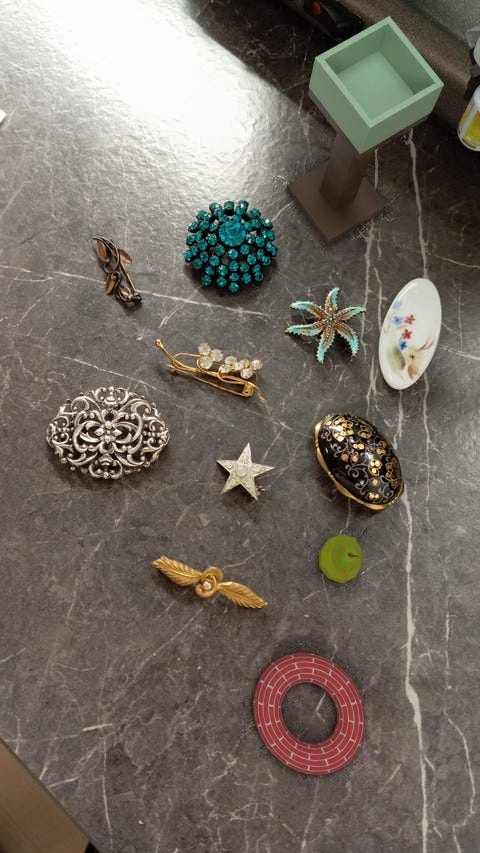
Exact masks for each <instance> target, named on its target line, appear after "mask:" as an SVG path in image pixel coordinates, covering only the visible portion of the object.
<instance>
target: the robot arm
mask: <svg viewBox="0 0 480 853" xmlns="http://www.w3.org/2000/svg"><path fill="white" fill-rule="evenodd" d="M465 38H466V40H467V45H468V48H469V50H468V55H469V59H470V63H471V67H470V68H469V69H468V70H469V71H468V72H469V75H470V78H469V80H468V82H467V84H466V90H465V92H464V94H463V96H462V98H463V100H464V101H466V102H468V101H469V102H470V100H471V98H472V96H473V94H474V92H475V90H476V88H477V87H478V86H479V85H480V26H479V25H477V26H476V25H475V26H473V27H471V28H469V29H468V30H466V31H465Z"/></svg>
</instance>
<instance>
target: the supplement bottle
mask: <svg viewBox="0 0 480 853" xmlns="http://www.w3.org/2000/svg"><path fill="white" fill-rule="evenodd" d="M457 135H458V138H459V140H460V142H461V143H462V144H463V146H465V147H467V148H468V149H470V150H471V151H475V152H480V85H479V86H478V87H477V88H476V90H475V92H474V94H473V96H472V98H471V99H470V100H469V103H468V104H467V106H466V108H465V111H464V112H463V115H462V117H461V119H460V120H459V123H458V125H457Z"/></svg>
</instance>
